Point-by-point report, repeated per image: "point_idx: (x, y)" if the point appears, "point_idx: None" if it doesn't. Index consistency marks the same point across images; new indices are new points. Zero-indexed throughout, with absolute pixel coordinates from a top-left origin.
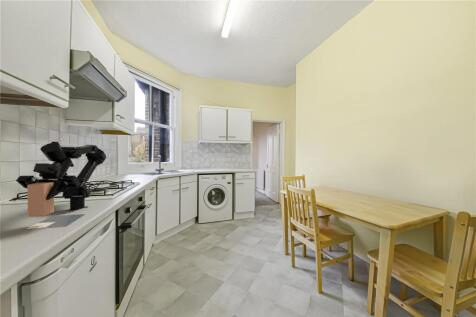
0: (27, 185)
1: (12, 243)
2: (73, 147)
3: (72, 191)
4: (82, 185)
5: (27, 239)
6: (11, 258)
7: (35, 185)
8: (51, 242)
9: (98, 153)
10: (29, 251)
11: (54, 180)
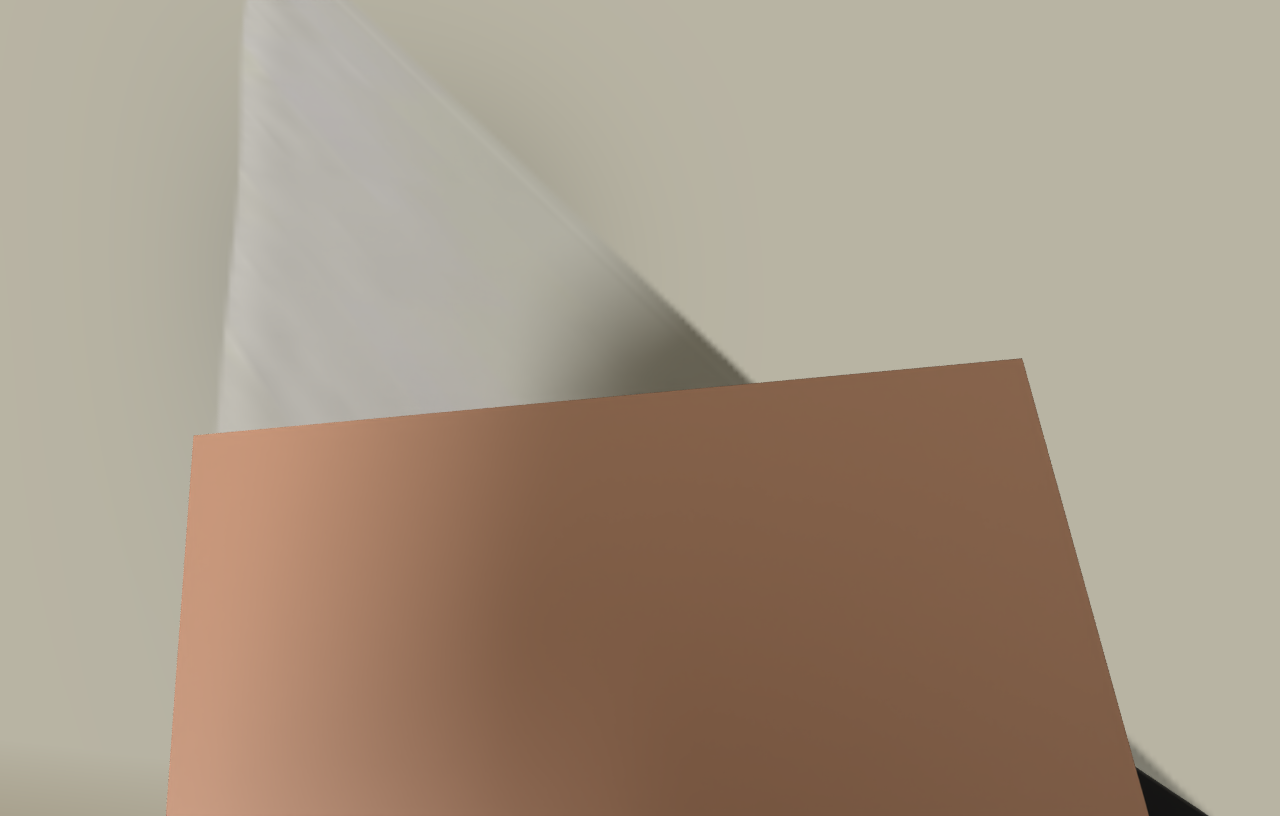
0: (994, 367)
1: (566, 257)
2: None
3: None
4: None
5: (514, 316)
6: (375, 60)
7: (640, 406)
8: (274, 244)
9: None
10: (334, 129)
11: None
